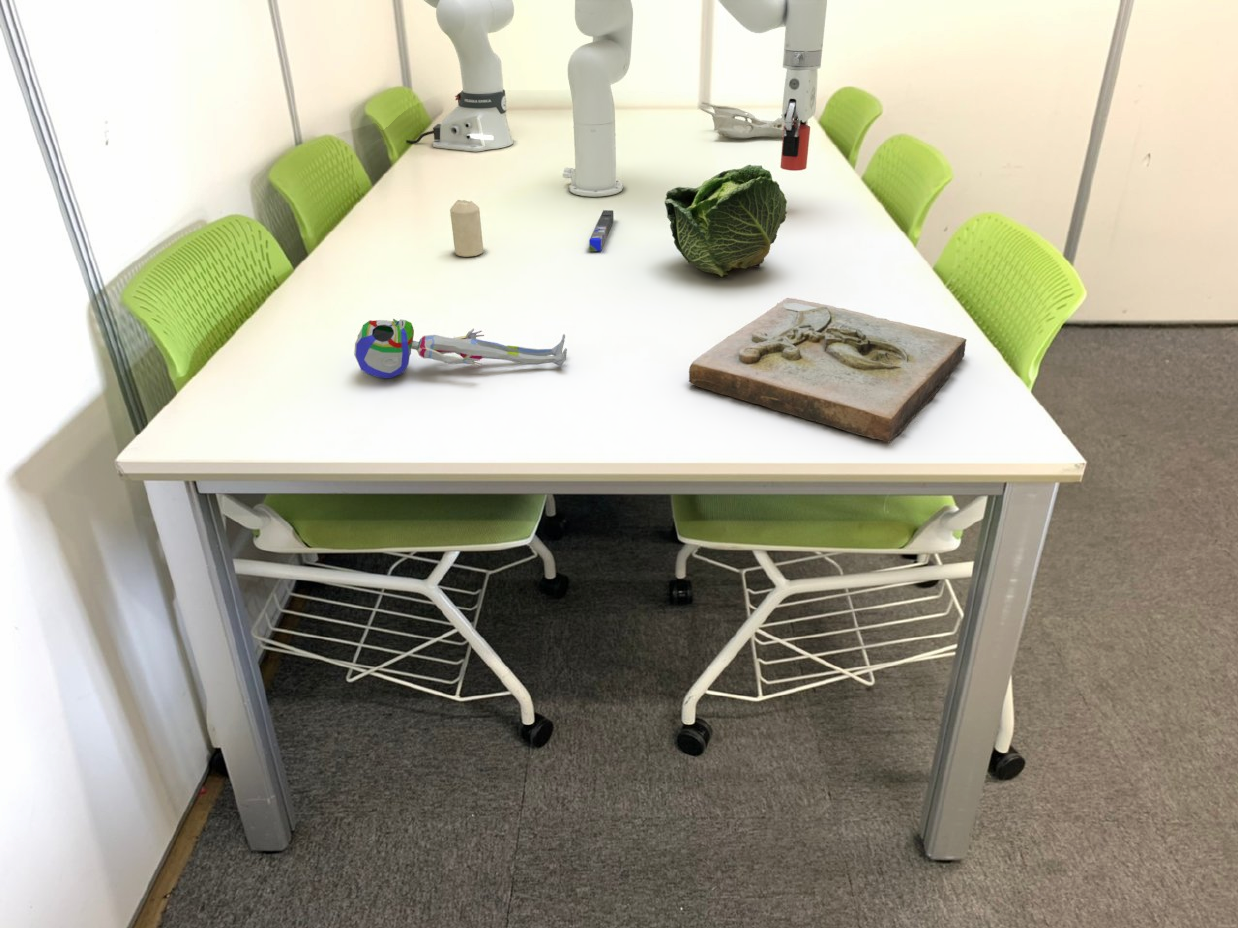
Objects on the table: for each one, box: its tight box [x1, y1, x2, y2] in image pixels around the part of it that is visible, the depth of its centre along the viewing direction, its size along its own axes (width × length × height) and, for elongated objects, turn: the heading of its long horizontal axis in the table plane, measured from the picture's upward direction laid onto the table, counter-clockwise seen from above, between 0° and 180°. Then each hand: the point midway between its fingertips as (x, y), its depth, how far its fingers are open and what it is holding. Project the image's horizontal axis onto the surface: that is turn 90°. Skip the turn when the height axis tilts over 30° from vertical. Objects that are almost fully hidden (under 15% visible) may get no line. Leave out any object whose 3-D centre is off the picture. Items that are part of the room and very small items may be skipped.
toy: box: [353, 318, 568, 379], centre depth 130 cm, size 10×8×30 cm
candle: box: [449, 199, 484, 258], centre depth 172 cm, size 6×6×10 cm
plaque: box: [688, 297, 967, 444], centre depth 127 cm, size 30×7×30 cm
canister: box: [779, 124, 811, 172], centre depth 188 cm, size 5×5×8 cm
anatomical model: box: [700, 101, 785, 140], centre depth 253 cm, size 15×9×25 cm
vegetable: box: [664, 164, 788, 278], centre depth 161 cm, size 20×19×20 cm
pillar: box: [588, 209, 615, 252], centre depth 182 cm, size 2×2×20 cm
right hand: (794, 151), depth 189 cm, fingers closed on canister, 5 cm apart
